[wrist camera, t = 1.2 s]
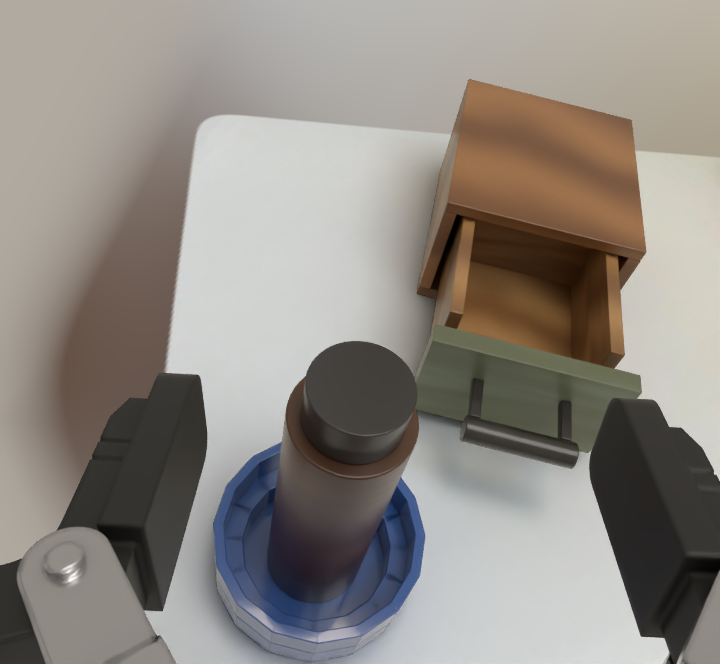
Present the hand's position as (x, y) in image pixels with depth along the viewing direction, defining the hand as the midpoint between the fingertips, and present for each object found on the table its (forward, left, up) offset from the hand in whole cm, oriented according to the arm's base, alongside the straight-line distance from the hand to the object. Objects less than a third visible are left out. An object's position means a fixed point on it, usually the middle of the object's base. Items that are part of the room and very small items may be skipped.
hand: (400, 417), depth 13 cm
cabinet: (+8, +33, -24) cm, 42 cm away
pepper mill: (-1, +5, -23) cm, 24 cm away
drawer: (+8, +20, -23) cm, 32 cm away
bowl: (-1, +5, -24) cm, 24 cm away
